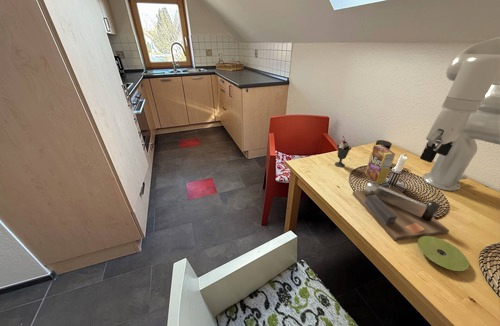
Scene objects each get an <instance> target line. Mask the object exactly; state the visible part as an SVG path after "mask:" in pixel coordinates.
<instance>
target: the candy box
mask: <svg viewBox="0 0 500 326" xmlns="http://www.w3.org/2000/svg"><path fill="white" fill-rule="evenodd" d="M395 157H396V153H394V151H392V150H391V149H390V150H389V149H387V148H386V147H385V146H384V145H375V144H374V145H373V147H372V151H371V153H370V157H369V161H368V163H367V167H366V169H365V172H364V174H365V175H366V176H367V177H368V178H369V179H370V181H372V182H376V183H377V184H378V185H382V184H381V183H385V181H386V179H387V176H388V174H389V172H390V169H391V168H392V165H393V161H394V159H395Z"/></svg>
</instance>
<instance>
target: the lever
mask: <svg viewBox="0 0 500 326" xmlns="http://www.w3.org/2000/svg"><path fill="white" fill-rule="evenodd" d="M386 188H387V187H385V186H381V185H380V184H377V183H376V182H373V181H372V180H370V181H368V182H367V183H366V186H365V189H364V190H365V191H364V193H365V194H366V195H367V196H368V195H376V196H377V197H378V198H379V199H380V200H383V201H385V202H387V203H389V204H392V205H394V206H396V207H398V208H401V209H403V210H405V211H408V212H410V213H412V214H414V215H417V216H419V217H421V218H422V219H423V220H425V221H431V220H432V218H434V216H435V215H436V213H437V211H438V210H439V208H440V206H441V205H440V204H439V203H438V202H435V201H433V200H432V201H431V200H429V201H428V202H427V204H425V203H424V202H420V201H418V200H416V199H413V198H411V197H408V196H407V195H406V196H407V197H406V196H404V195H401V194H399V193H396V192H394V191H391V190H389V189H386Z"/></svg>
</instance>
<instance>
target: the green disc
mask: <svg viewBox="0 0 500 326" xmlns="http://www.w3.org/2000/svg"><path fill="white" fill-rule="evenodd" d="M417 246H418V248H419V250H420V251H421V253H422V254H423V255H424V256H425V257H426V258H427V259H428V260H430V261H431V262H433V263H435V264H436V265H438V266H439V267H442V268H445V269H447V270H450V271H455V272H464V271H467V269H469V266H470V263H469V260H468V258H467V257H466V255H465V254H464V253H463V252H462V250H460V249H459V247H456V246H455V245H453V244H451V243H450V242H448V241H447V240H444V239H442V238H439V237H436V236H423V237H418V238H417Z"/></svg>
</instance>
